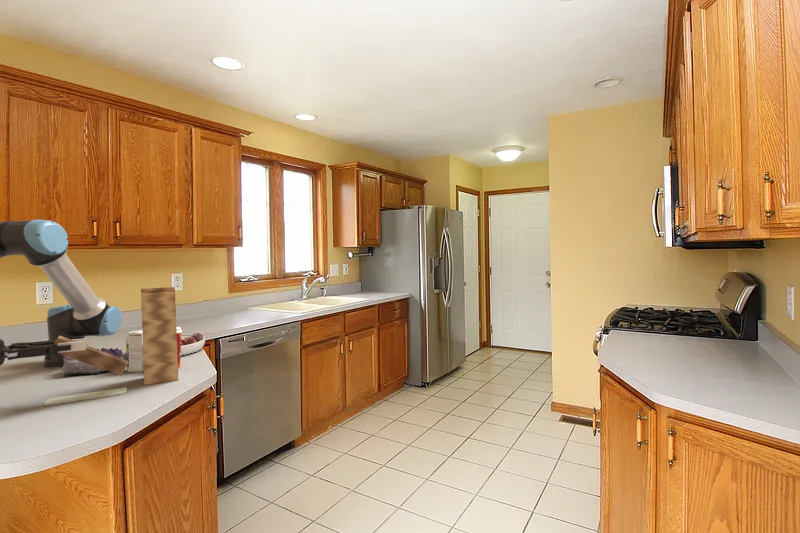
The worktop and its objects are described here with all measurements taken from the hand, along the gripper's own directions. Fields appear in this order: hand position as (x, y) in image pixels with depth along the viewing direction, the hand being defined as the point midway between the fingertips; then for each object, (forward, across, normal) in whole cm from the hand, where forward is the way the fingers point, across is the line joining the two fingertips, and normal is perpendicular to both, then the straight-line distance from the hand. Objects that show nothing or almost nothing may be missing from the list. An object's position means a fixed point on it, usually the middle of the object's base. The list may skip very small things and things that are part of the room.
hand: (86, 344), depth 135 cm
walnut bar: (0, 0, -6) cm, 6 cm away
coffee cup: (+23, -23, -16) cm, 37 cm away
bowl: (+23, -54, -16) cm, 61 cm away
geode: (-2, -34, -16) cm, 38 cm away
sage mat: (0, 0, -16) cm, 16 cm away
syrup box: (+13, -27, -16) cm, 34 cm away
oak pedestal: (+20, -10, -16) cm, 27 cm away
